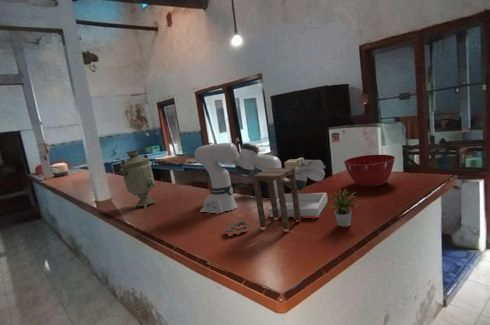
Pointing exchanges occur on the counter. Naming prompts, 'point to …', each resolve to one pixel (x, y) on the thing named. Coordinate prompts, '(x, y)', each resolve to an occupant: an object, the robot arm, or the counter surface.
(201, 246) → the counter surface
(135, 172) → the samovar
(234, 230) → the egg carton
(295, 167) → the mallet
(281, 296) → the counter surface
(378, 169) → the mixing bowl
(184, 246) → the counter surface
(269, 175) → the walnut stand
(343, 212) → the house plant
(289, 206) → the grey tray
